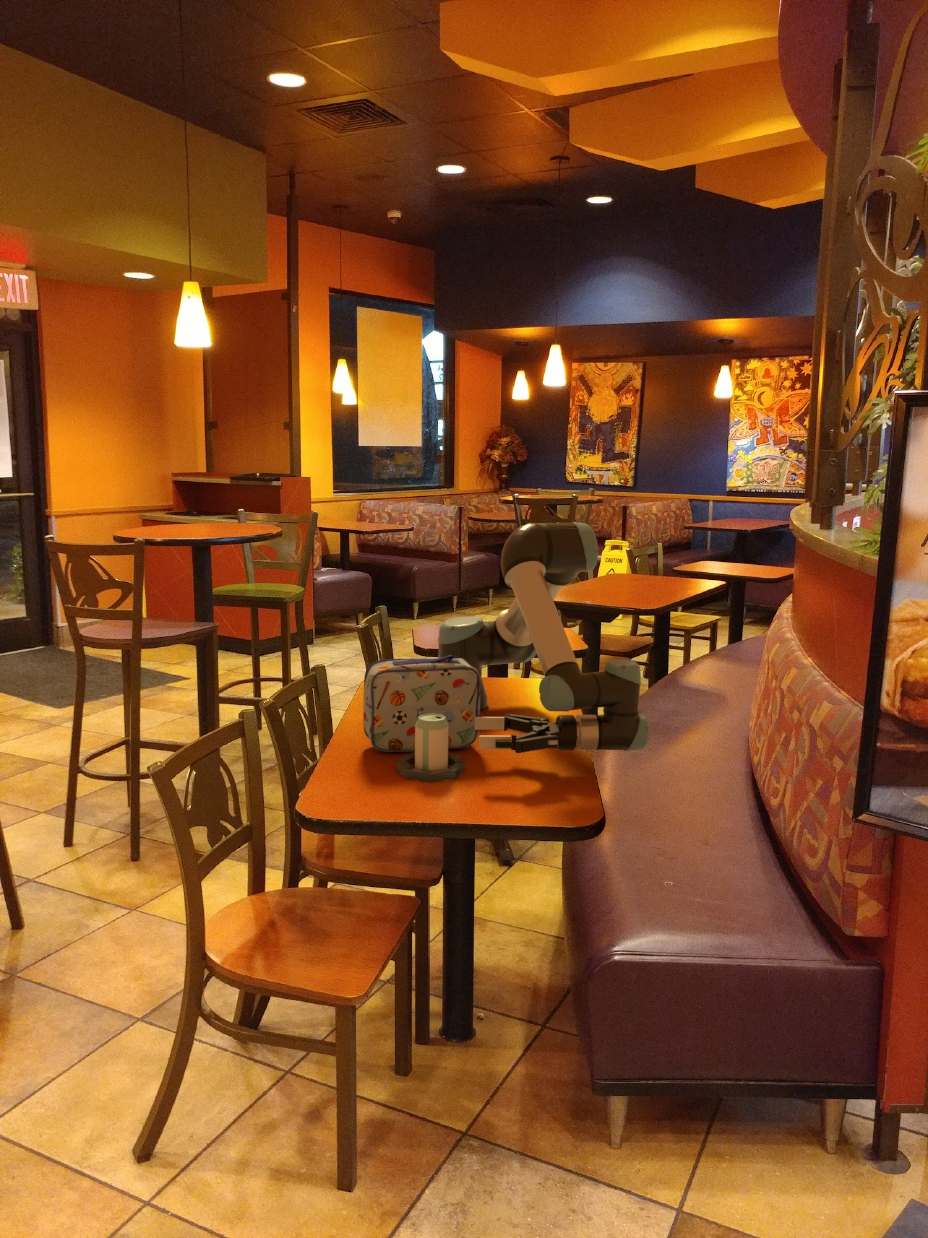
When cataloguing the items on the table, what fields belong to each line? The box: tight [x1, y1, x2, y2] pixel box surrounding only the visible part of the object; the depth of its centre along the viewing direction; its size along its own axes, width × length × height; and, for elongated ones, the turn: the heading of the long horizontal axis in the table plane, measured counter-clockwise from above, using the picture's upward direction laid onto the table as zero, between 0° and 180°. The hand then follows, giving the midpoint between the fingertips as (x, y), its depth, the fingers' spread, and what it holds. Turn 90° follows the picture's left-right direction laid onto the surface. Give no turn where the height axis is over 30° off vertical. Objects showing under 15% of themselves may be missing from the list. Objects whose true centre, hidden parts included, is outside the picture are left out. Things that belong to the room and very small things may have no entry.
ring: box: [396, 752, 466, 784], centre depth 206 cm, size 14×14×2 cm
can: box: [414, 714, 449, 770], centre depth 205 cm, size 7×7×12 cm
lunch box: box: [362, 655, 481, 753], centre depth 220 cm, size 28×10×22 cm, turn 105°
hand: (476, 732), depth 205 cm, fingers open, 13 cm apart
